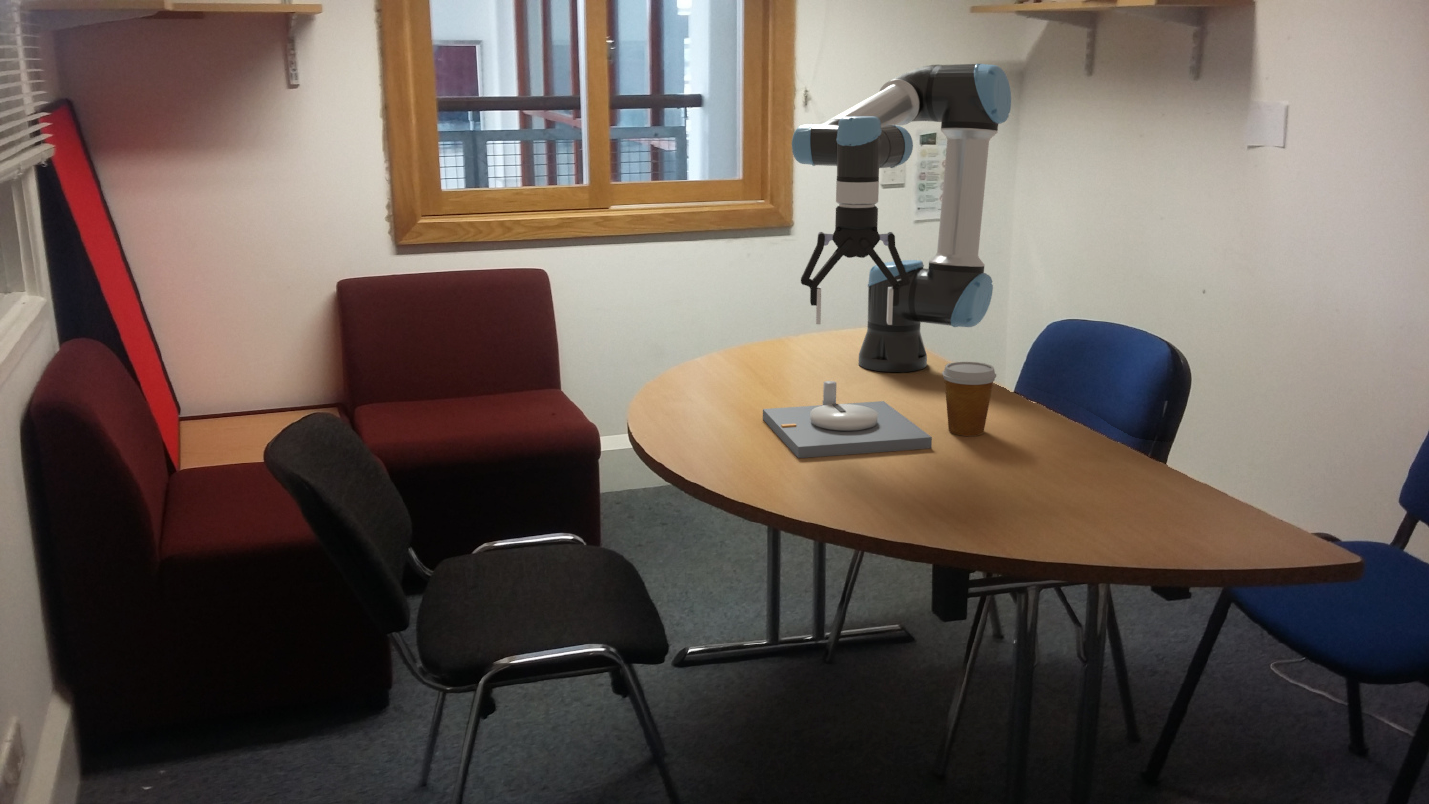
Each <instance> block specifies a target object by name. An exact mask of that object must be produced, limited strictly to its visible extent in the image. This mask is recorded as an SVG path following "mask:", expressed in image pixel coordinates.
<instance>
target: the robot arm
mask: <svg viewBox="0 0 1429 804" xmlns="http://www.w3.org/2000/svg"><path fill="white" fill-rule="evenodd" d="M1011 92H1012V91H1011V86H1010V82H1009V79H1008V76H1007V74H1006V73H1005V71H1004V70H1003V69H1002V67H1000V66H999V65H996V64H987V63H964V64H961V63H960V64H931V65H925V66H922V67H917V68H914V69H912V70H909V71H908V72H905V73H902V74H901V75H898V76H896V77H894V78H892V79H890V80H888V81H887V82H885V83H884V84H883V85H882V86H881V87H880V88H879V91H878V92H877V93H875V94H874V95H871V96H870V97H868V98H865V99H864V100H862V101H861V102H858V103H857V104H855V105H854V106H851V107H850V108H848V109H846V110H845V111H842V112H841V113H839V114H837V115H834V117H832V118H829V119H828V120H826V121H824V122H823V123H818V124H815V123H810V124H809V123H808V124H802V125H799V126H798V127H797V128H796V129H795V130H794V132H793V135H792V138H791V139H792V140H791V149H792V151H791V152H792V155H793V157H794V160H795V161H797V163H799V164H801V165H812V166H813V167H815V166H826V167H827V166H828V167H829V166H831V167H832V166H833V167H836V184H835V188H836V190H835V202H836V203H837V204H838V205H837V206H836V207H835V221H834V222H835V224H834V227H835V230H834V232H833V233H825V232H823V231H819V232H818V234H817V241H816V246H815V248H814V250H813V252H812V254H811V256H810V259H809V260H808V262H807V265H806V267H805V269H804V271H803V272H802V275H801V277H800V283H801V284H802V285H803V286H807V287H808V288H809V291H810V294H809V296H810V297H809V302H810V306H816V307H815V311H816V312H815V322H816V323H815V325H821V321H822V320H821V319H822V316H821V315H822V286H819V285H820V284H821V283H822V282H823V280H824V279H825V278H826V277H827V275H828V274H829V273H830V272H831V270H832V269H833V268H834V267H835V266H836V264H837V263H838V262H839V261H840V260H841V258H842V257H845V258H861V259H863V258H866V257H868V256H869V257H870V258H871V259H872V261H873V262H874V263H875V265H873V266H871V268H870V269H869V274H868V283H867V289H868V290H867V291H868V294H867V296H868V297H867V326H866V327H867V328H866V329H867V330H866V333H865V335H864V339H863V341H862V345H861V347H860V350H859V352H858V365H859V366H860V367H862V368H863V369H866V370H871V371H877V372H884V373H909V372H915V371H916V372H917V371H920V370H923V369H925V368H926V367H927V365H928V364H927V363H928V355H927V351H926V348H925V343H924V341H923V337H922V333H921V323H924V324H932V325H941V326H948V327H949V326H951V327H953V328H959V327H960V328H972V327H973V328H974V327H975V326H977V325H978V324H980V323H981V322H982V320H983V319H984V317H985V316H986V314H987V312H988V310H989V308H990V304H991V301H992V297H993V289H994V285H993V279H992V276H991V275H990V274H987V273H985V263H984V262H983V261H982V259H981V258H980V257H979V249H980V239H981V228H982V219H983V218H982V217H983V207H984V199H985V198H984V197H985V188H986V177H987V168H988V167H987V166H988V157H989V147H990V146H989V145H990V141H991V139H992V138H993V137H994V136H996V134H998V131H999V130H998V129H999V125H1000V124H1002V123H1005V122H1006V121H1007V120H1008V119H1009V116H1010V113H1011V107H1012V93H1011ZM911 122H912V123H913V122H934V123H935V122H936V123H937V122H938V123H941V124H940V131H941V132H942V134H943V135H944V137H945V138H946V139H947V140H946V150H945V151H946V152H945V160H944V161H945V163H944V172H943V173H944V174H943V183H942V192H941V193H942V195H941V204H940V205H941V206H940V216H939V217H940V219H939V228H938V230H939V231H938V240H937V252H936V254H935V255H934V256H933V257H932V258H931V259H929V261H928V268H924V266H925V265H924V262H923V261H922V260H921V259H920V260H917V259H905V260H904V259H903V260H902V259H901V257H900V254H899V252H898V248H897V247H896V236H895V233H894V232H892V231H889V232H887V233H879V230H878V223H879V222H878V220H879V219H878V218H879V208H878V207H877V206H876V204H878V203H879V188H880V181H879V180H880V169H884V168H885V169H887V168H891V169H893V168H896V167H897V166H901V165H903V164H905V163H906V162H907V161H908V160H909V158H911V156H912V153H913V148H914V143H913V137H912V136H911V134H910V132H909V131H908V130H907V129H906V128H904V126H905V125H906V126H907V125H908V124H910V123H911ZM831 241H833V243H834V244H835V246H836V247H837V248H836V249H834V252H833V253H832V255H831V256H830V258H829V259H828V260H827V261H826V262H825V264H824V265H823V266H822V267H821V268H820V269H819V271H818V272H817V273H816V275H815V276H814V277H813V278H811V277H812V274H813V272H814V270H815V268H816V265H817V263H818V262H819V259H820V257H821V254H822V253H823V250H824V248H825V246H828V245H829V243H830V242H831ZM880 241H882V242H883V246H887V247H888V251H889V253H890V255H891V258H892V260H893V261H887V262H884V261H883V260H882V258H881V257H880V255H879V254H878V252H877V251H875V248H876V247H877V245H878V243H879V242H880Z"/></svg>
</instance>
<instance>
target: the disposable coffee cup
mask: <svg viewBox="0 0 1429 804" xmlns="http://www.w3.org/2000/svg"><path fill="white" fill-rule="evenodd" d="M995 372H996V371H995V368H994V366H992V365H991V364H988V363H985V362H978V361H955V362H954V361H953V362H949V363H947V364H945V366H944V370H943V371H941V374H942V376H943V379H944V388H945V391H944V392H945V400H946V401H945V402H946V412H947V413H946V415H947V416H946V417H947V425H948V432H950V433H951V434H953V435H956V436H962V437H976V436H980V435H983V434H984V432H985V428H986V424H987V423H986V422H987V417H988V412H989V406H990V401H991V396H992V391H993V385H994V381H995V379H996V378H997V373H995Z"/></svg>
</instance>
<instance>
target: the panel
mask: <svg viewBox="0 0 1429 804" xmlns="http://www.w3.org/2000/svg"><path fill="white" fill-rule="evenodd" d="M846 404H853V405H860V406H865V407H869V408H871V409H874V410H875V411H876V412H877V413H878V417H877V424H876V425H875V426H873V427H870V428H867V429H862V430H851V431H842V430H831V429H825V428H821V427H818V426H816V425H814V424H812V423H811V421H810V420H811V410H812V409H814V408H816V407H819V406H823V404H818V405H816V404H815V405H805V406H804V405H803V406H801V405H800V406H787V407H773V408H772V407H771V408H762V421H764V423H766V425H767V426H768V427H769V428H770V429H771V430H772V431H773V432H774V433H775V434H776V435H777V437H778V438H779V439H780V440H781V441H782V442H783V443H784V445H786V447H787V448H789V450H790V451H791V452H792V453H793V454H794V455H795V456H796V458H797V459H805V458H818V457H830V456H831V457H832V456H845V455H858V454H861V455H862V454H870V453H871V454H872V453H882V452H883V453H884V452H898V451H910V450H912V451H913V450H926V449H932V443H933V441H932V440H933V437H932V436H931V435H930V434H928V433H927V432H926V431H924V430H923V429H922V428H920V427H919V426H918V425H916V424H915V423H914V422H912V421H911V420H909V419H908V418H907V417H906V416H904V415H903V414H901V413H900V412H899V411H898V410H897V409H895V408H894V407H892V406H891V405H889V404H888V403H887V402H886V401H885V400H881V401H880V400H879V401H877V400H876V401H864V402H850V403H849V402H847V403H846Z"/></svg>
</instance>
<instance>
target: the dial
mask: <svg viewBox="0 0 1429 804" xmlns="http://www.w3.org/2000/svg"><path fill="white" fill-rule="evenodd" d="M822 389H823V390H822V392H823V395H822V398H823V399H822V405H823V406H819V407H816V408H814V409H812V410H811V420H810V421H811V423H812V424H814V425H816V426H818V427H821V428H825V429H831V430H842V431H851V430H862V429H867V428H870V427H873V426H875V425H876V424H877V417H878V413H877V412H876V411H875V410H874V409H871V408H869V407H865V406H860V405H853V404H847V403H837V381H835V380H826V381H823V388H822Z"/></svg>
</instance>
